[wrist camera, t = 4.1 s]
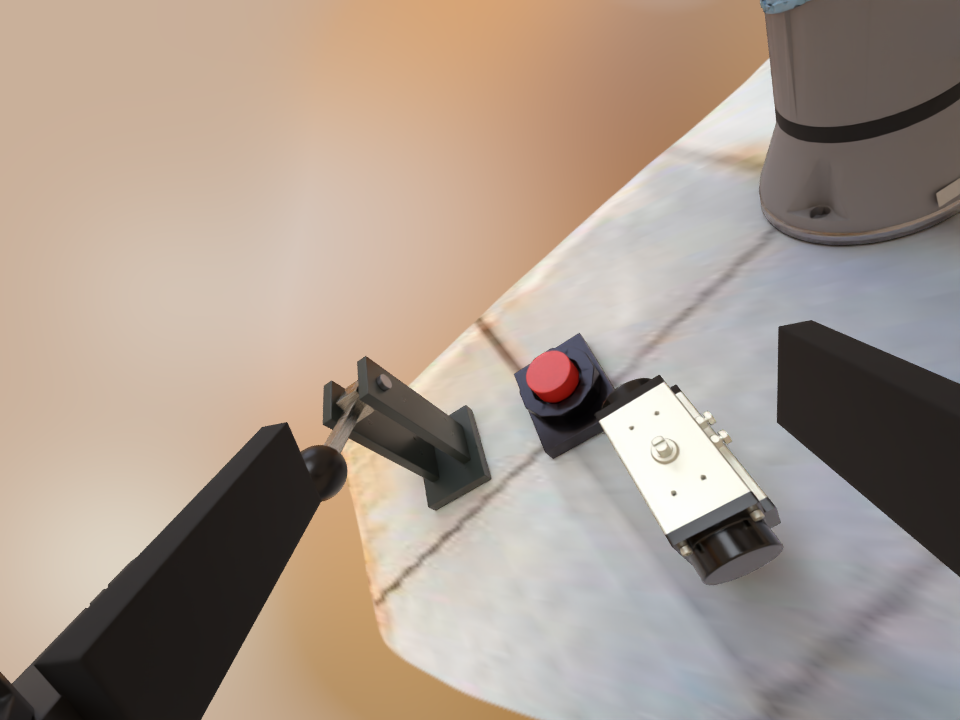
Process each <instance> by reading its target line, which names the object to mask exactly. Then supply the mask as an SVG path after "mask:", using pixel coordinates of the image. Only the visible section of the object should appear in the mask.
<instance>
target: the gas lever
mask: <svg viewBox="0 0 960 720" xmlns="http://www.w3.org/2000/svg"><path fill="white" fill-rule="evenodd" d="M336 404H337V405H338V406H339V407H340V408H341V409H342V410H343V411H344V412H343V414H342V415H341V417H340V419H339V420H338V422H337V424H336V425H335V427H334V429H333V431H332V432H331V434H330V435H329V437H328V439H327V441H326V442H325V444H324V445H316V446H311V447H308V448H307V449H305V450H303V451H301V455H302V457H303V459H304V461H305V464H306V466H307V468H308V470H309V473H310V475H311V477H312V480H313V482H314V484H315V486H316V489H317V491H318V493H319V495H320V498H321V500H322V501H325V500H328V499H330V498H332V497H334V496H335V495H336V494H337V493H338V492H339V491H340V490H341V489H342V487H343V485H344V483H345V481H346V478H347V465H346V462H345V459H344V458H343V456H342V455H341V454H340V453H341V451H342V449H343V447H344V445H345V444H346V442H347V440H348V438H349V436H350V434H351V432H352V430H353V428H354V426H355V424H356V423H357V422H359V421H360V420H362V419H363V418H365V417H366V416H368V415H369V414H371V413H372V412H374V411H375V409H373V408H372V407H370V406H369V405H367V404H365V403H364V402H362V401H360V400H359V386H358V380H357V381H356V382H354V383H353V384H351V385H350V386H348V387H347V388H346V389H345V391H344V392H343V394H342V395H341V397H340V398H339V400H338V402H337V403H336ZM322 501H321V502H322Z"/></svg>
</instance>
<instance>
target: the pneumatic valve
mask: <svg viewBox="0 0 960 720" xmlns="http://www.w3.org/2000/svg"><path fill="white" fill-rule="evenodd" d="M595 416H596V418H597V420H598V421H599V423H600V425H601V427H602V428H603V430H604V432H605V433H606V435H607V437H608V438H609V440H610V442H611V444H612V445H613V447H614V449H615V450H616V452H617V454H618V456H619V457H620V459H621V461H622V462H623V464H624V466H625V467H626V469H627V471H628V473H629V474H630V476H631V478H632V479H633V481H634V483H635V485H636V486H637V488H638V490H639V491H640V493H641V495H642V496H643V498H644V500H645V502H646V503H647V505H648V507H649V508H650V510H651V512H652V514H653V515H654V517H655V519H656V520H657V522H658V524H659V525H660V527H661V529H662V531H663V532H664V534H665V536H666V537H667V539H668V541H669V543H670V544H671V546H672V547H673V548H674V549H675V550H676V551H677V552H678V553H679V554H680V555H682V556H683V557H684V558H685V559H686V560H687V561H688V562H689V563H690V564H691V565H693V567H694V568H695V570H696V572H697V573H698V575H699V577H700V578H701V580H702V582H703V583H704V584H706V585H717V584H722V583H725V582H729V581H732V580H734V579H737V578H740V577H742V576H744V575H747V574H749V573H751V572H753V571H755V570H757V569H759V568H760V567H762V566H764V565H765V564H767V563H769V562H770V561H772V560H773V559H774V558H776V557H777V556H778V555H779V554H780V553H781V551H782V550H783V544H782V543H781V542H780V540H779V539H778V538H777V536H776V535H775V534H774V533H773V531H772V530H771V528H772V527H774V526H776V525H778V524H780V523H781V521H780V518H779V515H778V511H777V508H776V507H775V505H774V504H773V503H772V502H771V500H770V499H769V498H768V497H767V496H766V494H765V493H764V492H763V491H762V489H761V488H760V487H759V486H758V484H757V483H756V482H755V481H754V480H753V478H752V477H751V476H750V475H749V473H748V472H747V471H746V470H745V468H744V467H743V466H742V465H741V464H740V462H739V461H738V460H737V459H736V457H735V456H734V455H733V454H732V452H731V451H730V450H729V449H728V448H727V446H726V445H725V444H724V443H723V441H724V442H725V443H726V444H728V443H730V442H732V440H731V438H730V437H729V435H728V434H727V433H726V431H725V430H724V429H722V430H720V431H718V434H719V436H718V435H717V434H716V433H715V432H714V430H713V429H712V428H711V427H710V425H712V424H714V423H716V420H715V419H714V417H713V416H712V415H711V413H710V412H709V411H706V412H704V413H703V416H704V418H703V417H702V416H701V414H700V413H699V412H698V411H697V409H696V408H695V407H694V406H693V405H692V403H691V402H690V401H689V400H688V398H687V397H686V396H685V395H684V393H683V392H682V391H681V390H680V389H679V387H678V386H677V385H674V386H672V387H671V388H670V387H669V386H668V385H667V383H666V382H665V381H664V380H663V378H662V377H661V376H660V375H658V376H656V377H655V378H653V379H649V378H640V379H635V380H632V381H629V382H627V383H625V384H623V385H621V386H619V387H618V388H617V389H615V390H614V391H613V392H612V393H611V394H610V395H609V396H608V397H607V398H606V400H605V401H604V403H603V405H602V410H600V411H599V412H597V413H595ZM708 422H709V424H710V425H709V424H708Z"/></svg>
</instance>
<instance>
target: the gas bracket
mask: <svg viewBox="0 0 960 720" xmlns="http://www.w3.org/2000/svg"><path fill="white" fill-rule="evenodd" d="M357 366H358V386H359V400H360V401H362V402H364V403H365V404H367V405H369V406H370V407H372V408H373V409H375V411H374V412H372V413H371V414H369V415H368V416H366V417H365V418H363V419H362V420H360V421H359V422H357V423H356V424H355V426H354V428H353V430H352V432H351V434H350V436H349V439H351V440H353V441H355V442H357V443H359V444H361V445H363V446H364V447H366V448H368V449H370V450H372V451H374V452H376V453H378V454H380V455H382V456H383V457H385V458H387V459H389V460H391V461H393V462H395V463H397V464H399V465H401V466H402V467H404V468H406V469H408V470H410V471H412V472H414V473H416V474H418V475H420V476H422V477H423V478H424V483H425V489H426V496H427V502H428V507H429V508H431V509H433V510H437V509H439V508H441V507H442V506H444V505H446V504H448V503H449V502H451V501H453V500H455V499H457V498H458V497H460V496H462V495H464V494H465V493H467V492H469V491H471V490H472V489H474V488H476V487H478V486H480V485H481V484H483V483H485V482H487V481H488V480H490V479H491V477H490V473H489V469H488V466H487V462H486V459H485V455H484V452H483V448H482V445H481V441H480V438H479V434H478V431H477V427H476V423H475V420H474V416H473V413H472V410H471V409H470V408H469V407H468V406H466V405H465V406H463V407H462V408H460V409H459V410H457V411H455V412H454V413H452V414H451V415H449V416H448V415H447V414H446V413H444V412H443V411H441V410H440V409H439V408H437V407H436V406H434V405H433V404H432V403H430V402H429V401H427V400H426V399H425V398H423V397H422V396H421V395H419V394H418V393H416V392H415V391H414V390H412V389H411V388H409V387H408V386H407V385H405V384H404V383H402V382H401V381H400V380H398V379H397V378H396V377H394V376H393V375H391V374H390V373H389V372H387V371H386V370H384V369H383V368H382V367H380V366H379V365H378V364H376V363H375V362H373V361H372V360H371V359H369V358H368V357H366V356H365V357H363V358H362V359H361V360H359V361H358V362H357ZM344 391H345V389H344V388H343V387H341V386H340V385H338V384H336V383H335V382H333V381H330V382H329V383H327V384H326V385H325V386H324V397H323V425H325V426H327V427H328V428H330V429H332V430H333V429H334V427H335V425H336V424H337V422H338V420H339V419H340V417H341V415H342V414H343V412H344V411H343V410H342V409H341V408H340V407H339V406H338V405H337V404H336V403H337V402H338V400H339V398H340V397H341V395H342V394H343V392H344Z"/></svg>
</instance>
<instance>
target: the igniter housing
mask: <svg viewBox="0 0 960 720" xmlns="http://www.w3.org/2000/svg"><path fill="white" fill-rule="evenodd" d="M548 351H560V352H562V353H564V354H565V355H567V356H568V358H569V359H570V360H571V362H572V363H573V364H574V365H575V367H576V368H577V370H578V373H579V382H578V385H577V387H576V389H575V391H574V392H573V393H572V394H571V395H570V396H569V397H568V398H566V399H565V400H563V401H560V402H556V403H549V402H545V401H543V400H542V399H540V398H539V397H538V396H537V395H536V394H535V393H534V392H533V391H532V390H531V389H530V388H529V386H528V384H527V381H526V374H527V370H528V368H529V366H530V364H529V365H528V366H526V367H524V368H523V369H521V370H520V371H518V372H516V373H515V374H514V376H515V378H516V381H517V383H518V386H519V388H520V395H521V397H522V400H523V402H524V405H525V407H526V408H527V409H528V411H529V413H530V415H531V418H532V420H533V423H534V425H535V428H536V430H537V433H538V435H539V438H540V440H541V443H542V445H543V448H544V450H545V452H546V453H547V454H548V455H549V456H550V457H552V458H553V459H554V458H556V457H557V456H559V455H561V454H563V453H565V452H566V451H568V450H570V449H572V448H574V447H575V446H577V445H579V444H581V443H583V442H584V441H586V440H588V439H590V438H592V437H593V436H595V435H597V434H599V433H601V432H602V431H604V430H603V428H602V427H601V425H600V423H599V421H598V420H597V418H596V416H595V413H597V412H599V411H600V410H602V405H603V403H604V401H605V400H606V398H607V397H608V396H609V395H610V394H611V393H612V392H613V391H614V390H615V389H614V387H613V385H612V384H611V382H610V381H609V379H608V377H607V376H606V374H605V372H604V371H603V369H602V367H601V366H600V364H599V362H598V361H597V359H596V357H595V356H594V354H593V353H592V351H591V349H590V348H589V346H588V344H587V343H586V341H585V340H584V338H583V337H582V335H581V334H580V333H579V334H577V335H575V336H574V337H572V338H571V339H569V340H567V341H566V342H564V343H563V344H561V345H559V346H558V347H556V348H552V349H549V350H548ZM548 351H546V352H548Z"/></svg>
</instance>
